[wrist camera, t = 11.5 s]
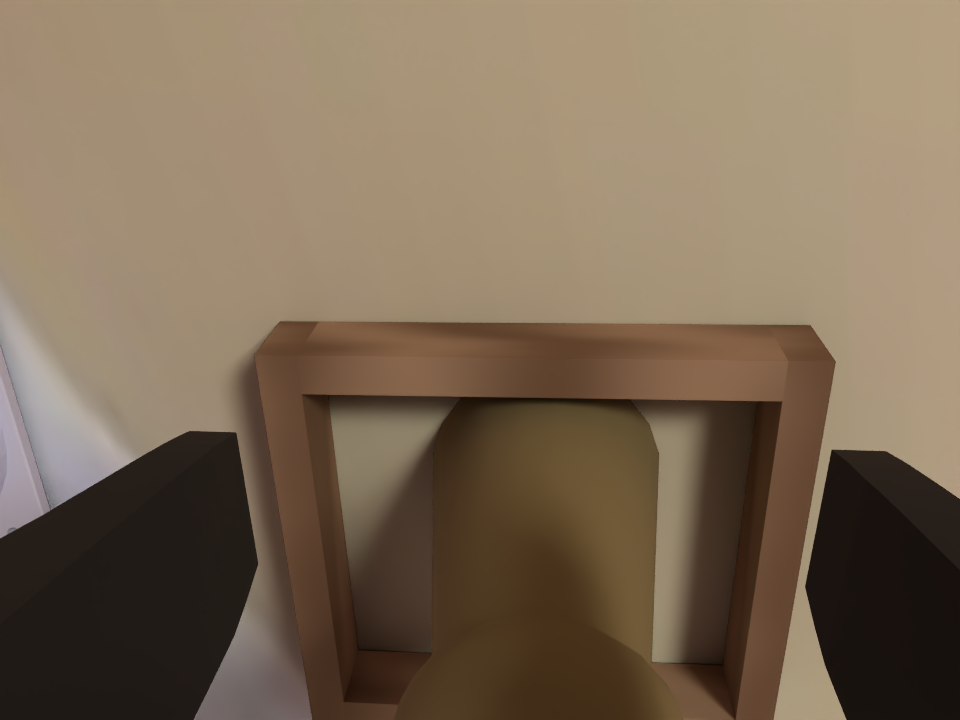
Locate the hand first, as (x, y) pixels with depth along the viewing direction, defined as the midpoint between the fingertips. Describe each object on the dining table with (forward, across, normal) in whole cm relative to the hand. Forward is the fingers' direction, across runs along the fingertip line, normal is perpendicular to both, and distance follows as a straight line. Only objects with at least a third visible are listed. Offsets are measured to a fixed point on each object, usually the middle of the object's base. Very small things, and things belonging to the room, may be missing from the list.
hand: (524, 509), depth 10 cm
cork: (+11, 0, +6) cm, 12 cm away
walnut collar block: (+10, 0, +8) cm, 13 cm away
